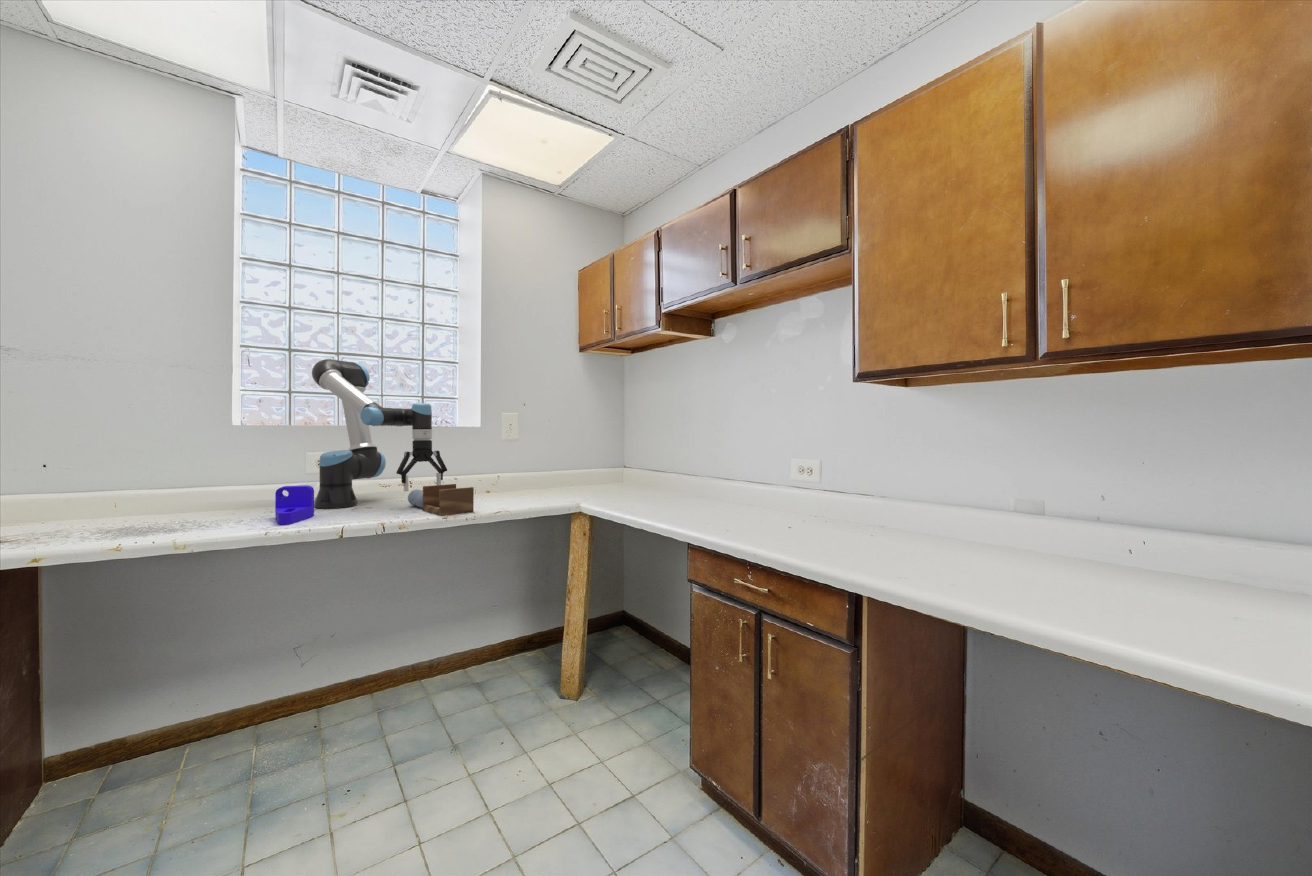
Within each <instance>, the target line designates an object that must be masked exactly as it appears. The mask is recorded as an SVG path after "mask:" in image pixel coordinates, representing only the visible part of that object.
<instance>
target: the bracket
mask: <svg viewBox="0 0 1312 876" xmlns="http://www.w3.org/2000/svg"><path fill="white" fill-rule="evenodd" d="M284 491H286V492H287V494H288V495H285V494H283V493H284ZM274 497H275V498H274V499H275V502H274V503H275V504H274V505H275V506H274V507H275V509H274V511H275V512H274V513H275V519H274V520H275V521H276V523H277V525H278V526H289V525H294V524H297V523H299V522H302V521H306V520H308V519H312V518H313V517H314V516H315V507H314V503H315V489H314V487H313V486H312V485H308V484H306V485H284V486H281V487H278V488H277V489H276V491H275V496H274Z"/></svg>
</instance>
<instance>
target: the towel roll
mask: <svg viewBox="0 0 1312 876" xmlns="http://www.w3.org/2000/svg"><path fill="white" fill-rule="evenodd" d="M407 502H408V504H410V505H412V506H414V507H418V508H421V509H423V489H422V490H421V489H413V490H412V491H410V492H409V493H408V495H407Z"/></svg>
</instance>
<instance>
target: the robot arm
mask: <svg viewBox="0 0 1312 876" xmlns="http://www.w3.org/2000/svg"><path fill="white" fill-rule="evenodd" d="M311 377H312V379H313V381H314V382H315V383H316V384H317V385H318V386H319V387H320V388H322V389H323V390H327V391H330V392H331V393H332V394H333V395H335V397H337V398H338V399H340V400H341V403H342V408H343V414H344V418H345V425H346V431H347V436H348V440H349V446H350V447H349V448H348V449H343V450H332V451H331V450H330V451H327V452H323V453H322V454H320V456H319V461H318V462H319V463H318V466H319V489H318V492H317V495H316V497H315V499H314V509H322V510H323V509H324V510H325V509H328V510H329V509H343V508H350V507H351V508H352V507H355V506H357V505H358V502H357V501H358V500H357V497H356V493H355V491H354V489H353V481H354V480H363V479H372V478H376V477H379V476H380V475H382V474H383V471H384V470H385V469H386V465H387V463H386V457H385V455H384V454H383V453H382V452H380V451H378V446H377V445H375V444H373V440H372V436H371V430H370V426H371V427H412V428H411V429H412V431H411V433H412V434H411V435H412V437H411V438H412V451H404V454H403V455H404V457H403V458H402V461H401V462H400V464H399V466H398V468H397V470H396V471H395V472H396V475H400V476H401V477H400V479H401V484H403V491H404V492H409V475H407V474H408V473H410V470H412V468H413V467H414V466H415V465H416V464H417V463H423V462H428V463H429V464H430V465H431V466H432V467H433V468H434V469H435V470H436V471H437V473H436V485H442V481H443V480H444V473H445V472H447V471H448V468H447V466H446V465H445V462H444V461H443V458H442V457H441V453H440V450H433V440H432V438H433V430H432V429H433V428H432V425H433V424H432V423H433V422H432V416H433V412H432V405H431V404H430V403H422V402H421V403H419V402H417V403H413V404H412V405H411V408H396V407H383V406H381V405H380V404H378V403H377V402H376V401H375V400H373V399H372V398H371V397H369V396H368V395H366V394H365V391H366V387H368V385H369V382H370V379H371V378H370V373H369V371H368V369H367V368H366V367H365V365H363V364H361V363H357V362H354V361H344V360H338V359H332V358H326V359H322V360H321V359H320V360H319V361H318V362H316V363H315V364H314V366H313V367H312V370H311ZM411 456H412V457H413V458H412V459H410V457H411ZM433 456H434V457H435V459H436V461H435V460H434V458H433ZM409 460H410V462H409V463H408V461H409ZM407 463H408V464H407Z"/></svg>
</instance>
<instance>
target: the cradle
mask: <svg viewBox="0 0 1312 876" xmlns="http://www.w3.org/2000/svg"><path fill="white" fill-rule="evenodd" d="M474 488H475V487H473V486H469V487H459V488H458V487H457V483H449V484H441V485H437V484H436V485H425V486H424V485H422V491H423V508H422V512H426V513H429V514H433V515H436V516H440V517H443V516H445V517H446V516H451V515H452V516H453V515H461V514H466V513H473V512H474V507H475V506H474V498H475V497H474V493H475V492H474Z"/></svg>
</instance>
